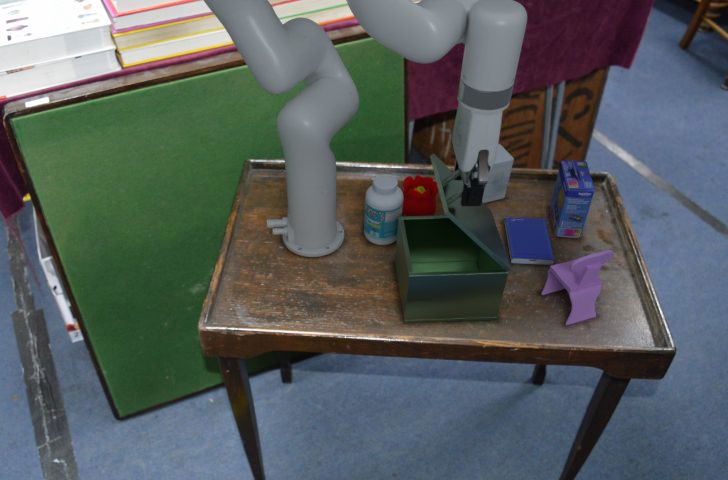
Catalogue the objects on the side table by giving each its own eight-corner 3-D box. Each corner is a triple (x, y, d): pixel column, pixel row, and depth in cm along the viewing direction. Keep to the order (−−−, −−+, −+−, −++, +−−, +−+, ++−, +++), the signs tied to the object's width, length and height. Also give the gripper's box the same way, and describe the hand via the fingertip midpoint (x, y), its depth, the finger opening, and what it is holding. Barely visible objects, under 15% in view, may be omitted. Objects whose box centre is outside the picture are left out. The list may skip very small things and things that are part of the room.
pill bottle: (357, 229, 136) (358, 176, 127) (388, 219, 139) (391, 165, 129) (375, 251, 131) (378, 197, 122) (407, 240, 134) (412, 185, 124)
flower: (391, 218, 139) (393, 187, 133) (409, 199, 143) (412, 168, 138) (424, 231, 136) (428, 200, 130) (442, 212, 140) (446, 181, 134)
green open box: (404, 323, 118) (409, 276, 110) (394, 263, 129) (398, 216, 121) (496, 320, 118) (508, 272, 110) (479, 260, 129) (489, 213, 121)
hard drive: (505, 216, 136) (512, 257, 128) (545, 218, 136) (555, 259, 127) (503, 222, 137) (510, 263, 129) (544, 224, 137) (553, 265, 128)
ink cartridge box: (546, 207, 141) (562, 149, 131) (573, 208, 140) (591, 150, 130) (553, 237, 134) (570, 178, 124) (581, 239, 133) (601, 180, 123)
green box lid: (444, 214, 100) (473, 194, 98) (429, 155, 112) (455, 136, 109) (507, 271, 110) (534, 255, 107) (487, 212, 121) (512, 196, 118)
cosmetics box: (463, 209, 141) (470, 168, 133) (449, 192, 145) (455, 151, 137) (506, 199, 143) (515, 158, 136) (491, 182, 147) (499, 141, 140)
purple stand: (573, 282, 125) (594, 221, 114) (601, 315, 119) (626, 253, 108) (534, 293, 123) (553, 231, 112) (561, 326, 117) (583, 265, 106)
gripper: (449, 62, 101) (436, 161, 113) (469, 123, 89) (452, 226, 101) (498, 62, 101) (479, 160, 114) (525, 122, 89) (501, 225, 101)
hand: (467, 191), depth 107 cm, fingers closed on green box lid, 6 cm apart
